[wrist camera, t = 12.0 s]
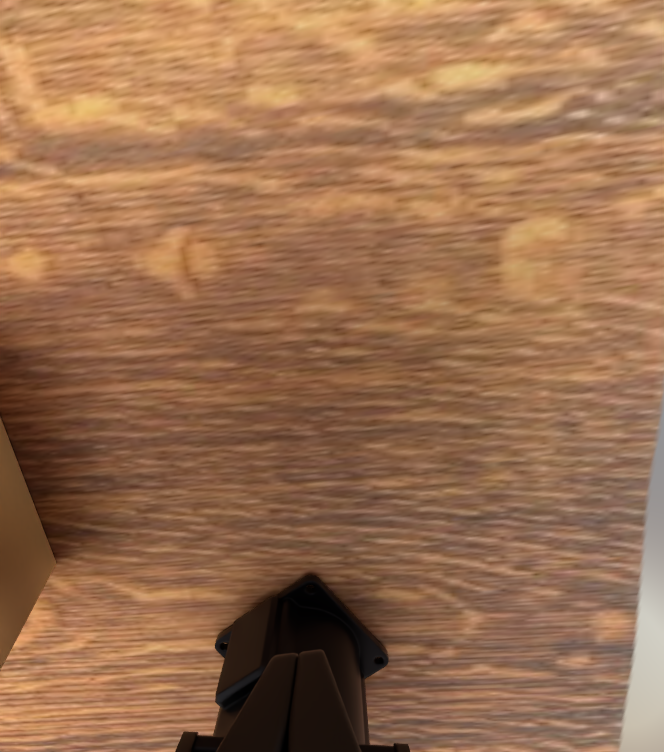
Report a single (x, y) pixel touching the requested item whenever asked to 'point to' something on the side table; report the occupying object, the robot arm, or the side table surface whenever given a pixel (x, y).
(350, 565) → the side table surface
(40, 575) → the wooden box
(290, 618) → the robot arm
